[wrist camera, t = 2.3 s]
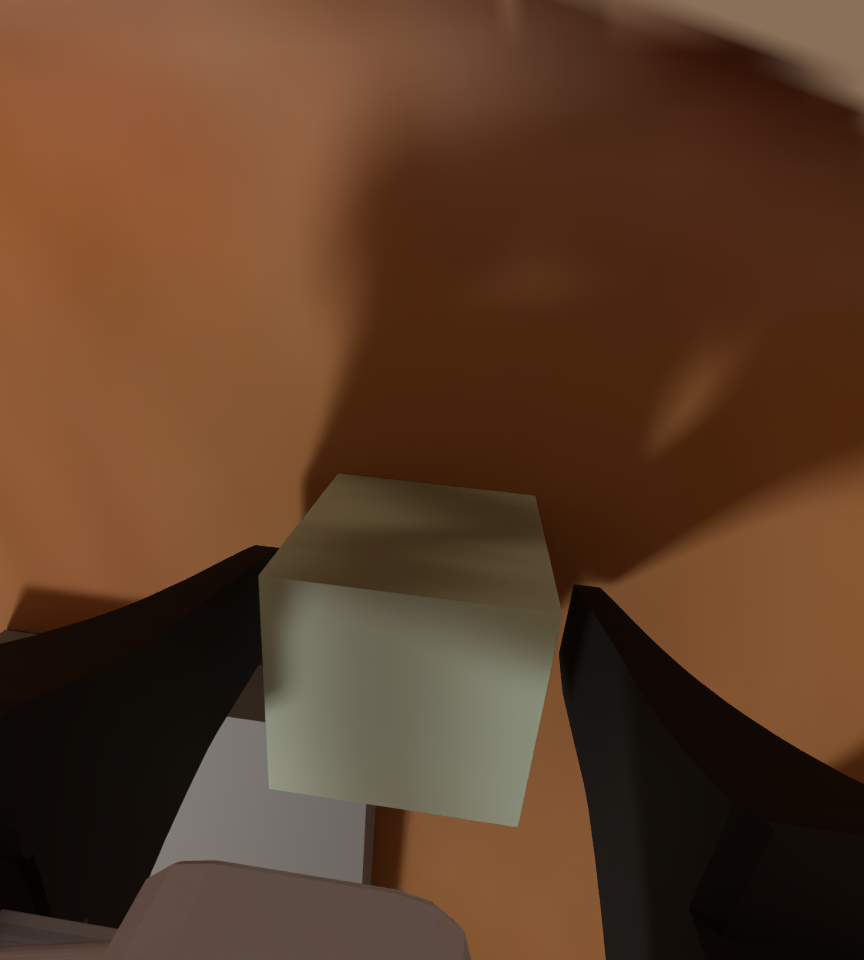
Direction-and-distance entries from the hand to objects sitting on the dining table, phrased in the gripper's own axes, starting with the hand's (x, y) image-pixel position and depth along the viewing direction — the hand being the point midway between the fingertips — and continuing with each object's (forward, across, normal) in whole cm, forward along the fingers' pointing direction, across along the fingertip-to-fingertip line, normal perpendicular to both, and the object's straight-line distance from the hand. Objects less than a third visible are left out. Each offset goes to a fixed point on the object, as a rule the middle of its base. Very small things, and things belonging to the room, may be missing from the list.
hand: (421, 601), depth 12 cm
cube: (+2, 0, 0) cm, 2 cm away
